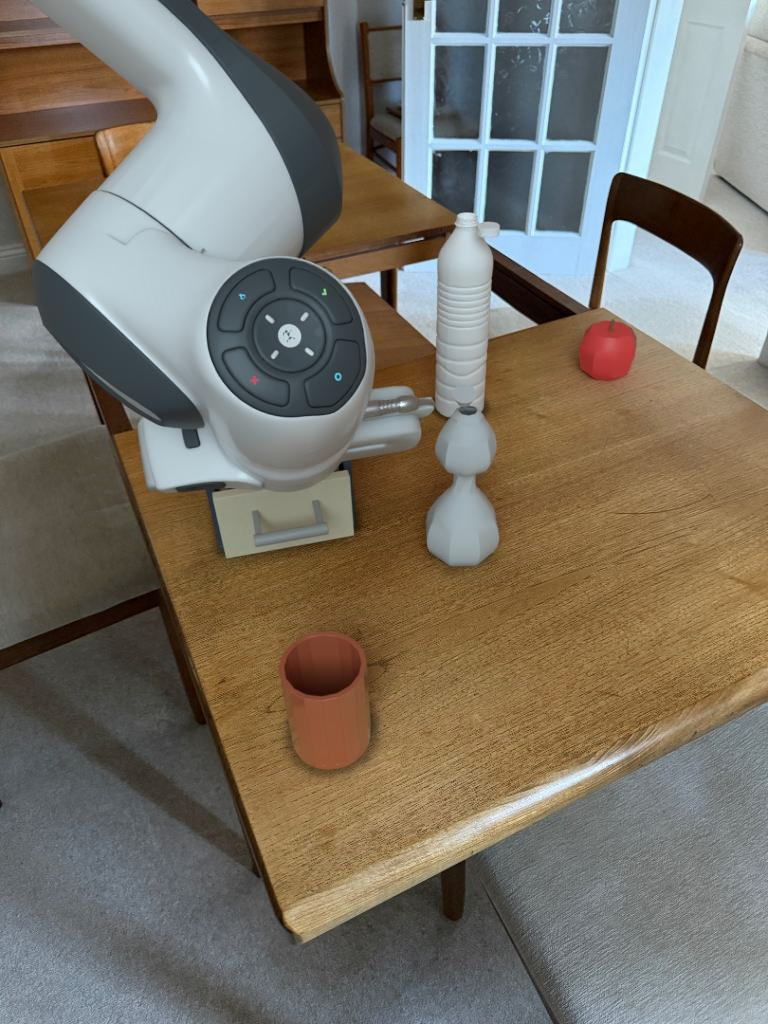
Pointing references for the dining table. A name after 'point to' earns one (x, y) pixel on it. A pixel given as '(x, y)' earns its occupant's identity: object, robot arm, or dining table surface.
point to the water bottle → (463, 311)
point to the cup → (326, 699)
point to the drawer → (284, 516)
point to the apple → (607, 350)
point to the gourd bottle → (463, 488)
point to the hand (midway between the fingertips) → (282, 459)
